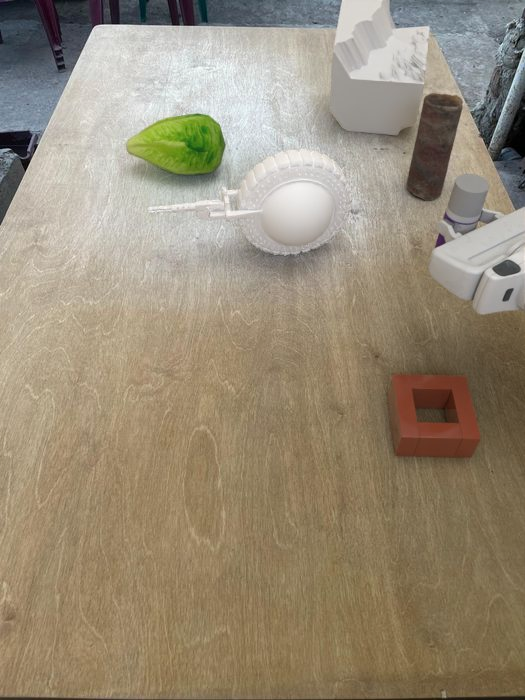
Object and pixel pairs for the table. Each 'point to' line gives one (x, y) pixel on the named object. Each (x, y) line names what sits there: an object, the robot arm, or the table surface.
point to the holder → (432, 437)
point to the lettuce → (181, 144)
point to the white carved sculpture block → (376, 69)
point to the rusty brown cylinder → (434, 144)
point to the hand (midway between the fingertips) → (456, 216)
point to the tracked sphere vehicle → (283, 203)
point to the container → (465, 204)
